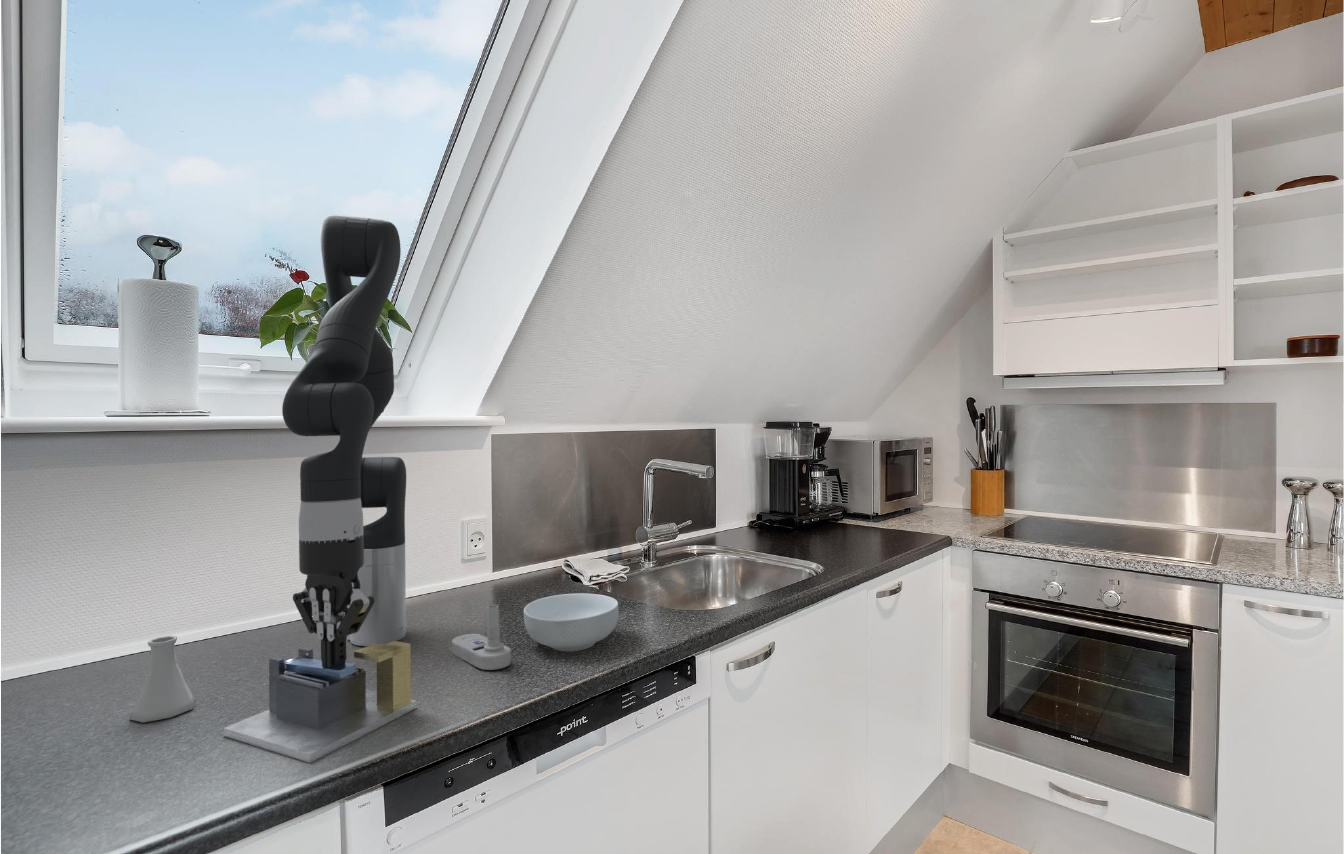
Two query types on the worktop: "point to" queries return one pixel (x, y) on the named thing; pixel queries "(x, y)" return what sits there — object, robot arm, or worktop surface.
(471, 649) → the electronic device
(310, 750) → the clip base
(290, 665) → the blue bar
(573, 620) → the cereal bowl
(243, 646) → the worktop surface
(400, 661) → the block
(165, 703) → the flask
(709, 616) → the worktop surface
